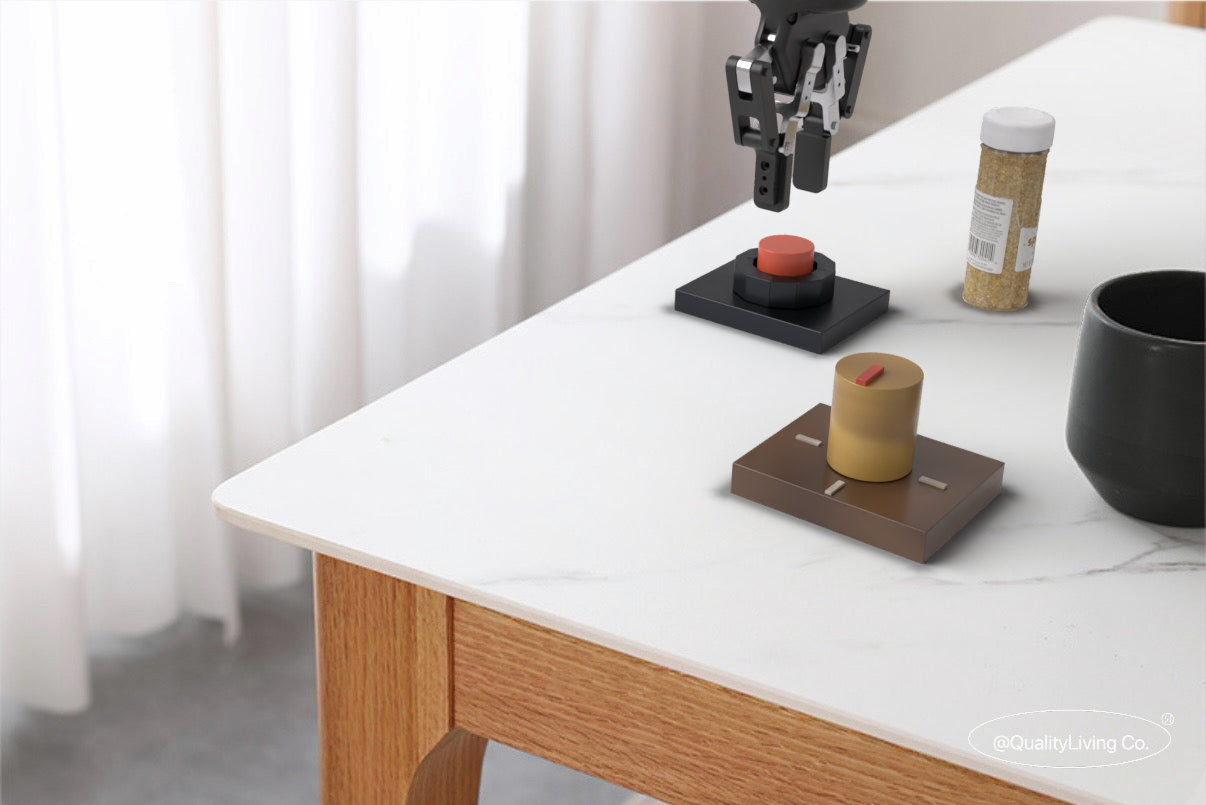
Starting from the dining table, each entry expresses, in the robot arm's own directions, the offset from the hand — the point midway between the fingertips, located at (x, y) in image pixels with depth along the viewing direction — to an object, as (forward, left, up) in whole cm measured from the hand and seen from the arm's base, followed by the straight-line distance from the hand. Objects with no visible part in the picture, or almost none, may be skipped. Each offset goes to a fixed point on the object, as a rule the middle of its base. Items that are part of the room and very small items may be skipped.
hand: (790, 197), depth 99 cm
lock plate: (-16, +18, -8) cm, 26 cm away
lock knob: (-16, +18, -6) cm, 25 cm away
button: (0, 0, -5) cm, 5 cm away
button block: (0, 0, -8) cm, 8 cm away
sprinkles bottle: (-10, -11, -9) cm, 17 cm away
